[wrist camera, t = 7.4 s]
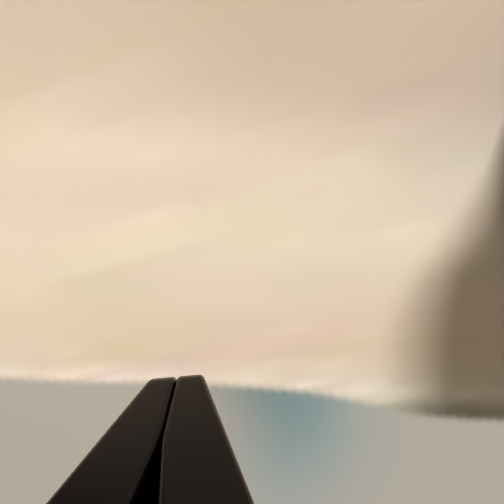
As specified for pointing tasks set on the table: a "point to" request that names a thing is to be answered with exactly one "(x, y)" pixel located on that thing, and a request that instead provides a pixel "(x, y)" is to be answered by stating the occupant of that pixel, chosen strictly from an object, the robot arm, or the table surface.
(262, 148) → the table surface
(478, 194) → the table surface
